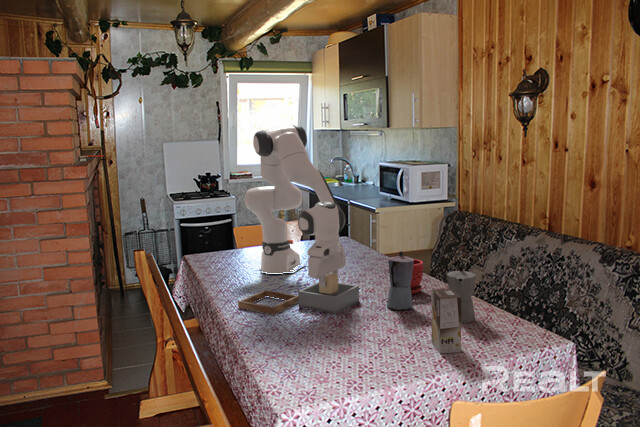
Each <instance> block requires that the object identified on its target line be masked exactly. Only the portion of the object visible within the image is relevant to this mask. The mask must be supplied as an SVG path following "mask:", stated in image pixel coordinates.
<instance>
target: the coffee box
mask: <svg viewBox="0 0 640 427" xmlns="http://www.w3.org/2000/svg"><path fill="white" fill-rule="evenodd" d="M431 343H432V345H433V346H434V347H435V349H436V350H437V351H438V353H439V354H449V353H450V354H452V353H461V350H462V323H461V297H460V296H459V295H458V294H457V293H456V292H455V291H453V290H452V289H449V288H439V289H431Z"/></svg>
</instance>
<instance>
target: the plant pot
mask: <svg viewBox="0 0 640 427" xmlns="http://www.w3.org/2000/svg"><path fill="white" fill-rule="evenodd" d="M413 260H414V265H413V272H412V279H411V285H410V287H411V295H415V294H417V293H420V291H422V285H421V282H422V280H423V277H424V276H423V275H424V262H423V261H422V260H420V259H417V258H416V259H415V258H413Z"/></svg>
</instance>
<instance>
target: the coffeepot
mask: <svg viewBox="0 0 640 427" xmlns="http://www.w3.org/2000/svg"><path fill="white" fill-rule="evenodd" d="M476 278H477V274H475V273H474V272H471V271H466V270H465V267H464V265H459V266H458V270H455V271H454V270H453V271H452V270H451V271H449V272H448V273H446V279H447V287H448V288H447V289H452V290H453V291H455V292H456V293H457V294H458V295H459V296H460V297H461V324H469V323H473V322H474V321H475V319H476V314H475V309H474V308H475V307H474V301H473V300H472V296H473V295H474V291H475V286H476V285H475V284H476Z"/></svg>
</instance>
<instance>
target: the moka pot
mask: <svg viewBox="0 0 640 427" xmlns="http://www.w3.org/2000/svg"><path fill="white" fill-rule="evenodd" d="M398 254H399V255H397V256H391V257H390V256H389V257H388V258H387V259H388V262H387V263H388V272H389V281H390V283H389V292H388V296H387V303H386V306H387V307H388V308H389V309H392V310H398V311H399V310H400V311H402V310H403V311H404V310H410V309H412V308H413V299H412V296H413V295H412V294H411V287H410V285H411V279H412V272H413V265H414V260H413V259H414V258H412V257H410V256H406V255H405V256H404V251H399V252H398Z"/></svg>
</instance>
